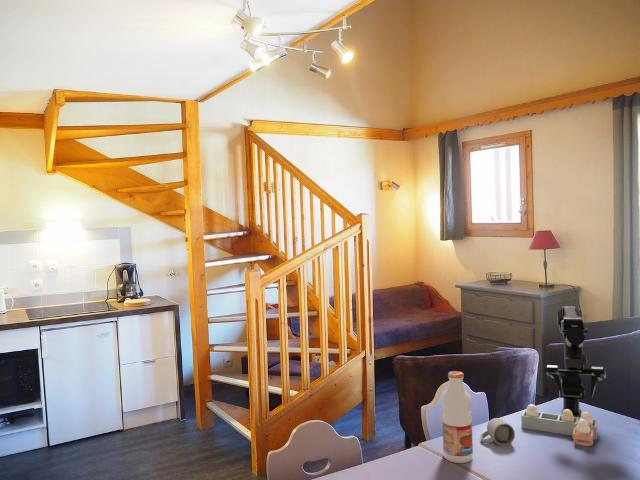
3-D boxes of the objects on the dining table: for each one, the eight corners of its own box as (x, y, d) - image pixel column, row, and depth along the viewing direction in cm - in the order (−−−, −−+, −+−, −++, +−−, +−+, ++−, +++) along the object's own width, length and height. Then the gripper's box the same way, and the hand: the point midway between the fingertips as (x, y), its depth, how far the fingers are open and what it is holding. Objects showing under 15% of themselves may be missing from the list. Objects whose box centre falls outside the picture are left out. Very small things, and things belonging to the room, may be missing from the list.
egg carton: (524, 421, 200) (524, 400, 199) (597, 432, 187) (597, 410, 187) (521, 427, 194) (521, 406, 194) (596, 439, 181) (596, 416, 181)
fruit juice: (447, 449, 178) (445, 367, 177) (475, 454, 173) (473, 370, 172) (439, 460, 170) (437, 375, 169) (468, 466, 165) (466, 378, 164)
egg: (576, 432, 182) (576, 416, 182) (590, 434, 180) (590, 418, 180) (575, 437, 178) (575, 420, 178) (590, 439, 176) (589, 422, 176)
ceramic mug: (505, 435, 187) (504, 414, 187) (515, 445, 179) (514, 423, 179) (476, 438, 187) (475, 416, 186) (485, 447, 178) (484, 425, 178)
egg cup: (574, 437, 183) (574, 427, 183) (593, 440, 180) (593, 430, 180) (572, 444, 178) (572, 433, 178) (592, 447, 175) (592, 436, 175)
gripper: (542, 345, 185) (543, 390, 179) (602, 346, 176) (605, 394, 169) (547, 353, 193) (548, 396, 187) (604, 354, 184) (607, 400, 178)
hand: (576, 396), depth 180 cm, fingers open, 9 cm apart
